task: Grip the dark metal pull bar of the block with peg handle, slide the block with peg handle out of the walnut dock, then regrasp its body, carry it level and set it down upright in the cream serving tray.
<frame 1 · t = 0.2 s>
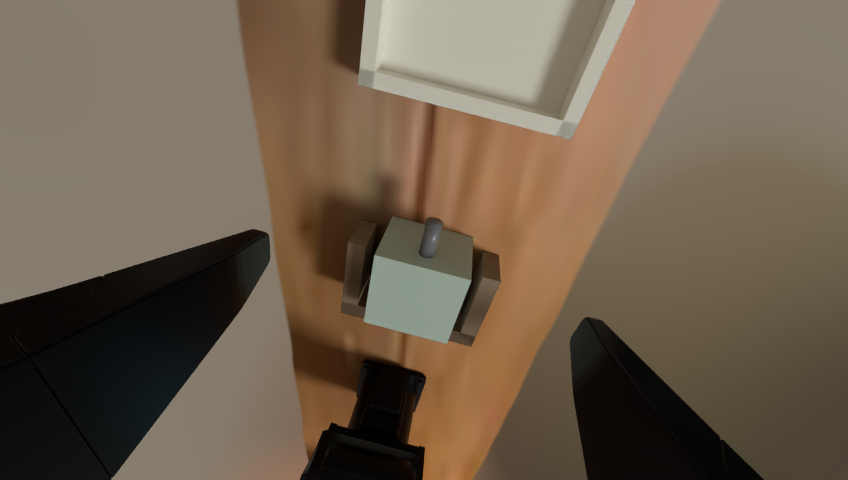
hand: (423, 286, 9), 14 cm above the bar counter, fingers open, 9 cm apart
dock: (424, 258, 26), on the bar counter
block with peg handle: (424, 257, 26), on the bar counter
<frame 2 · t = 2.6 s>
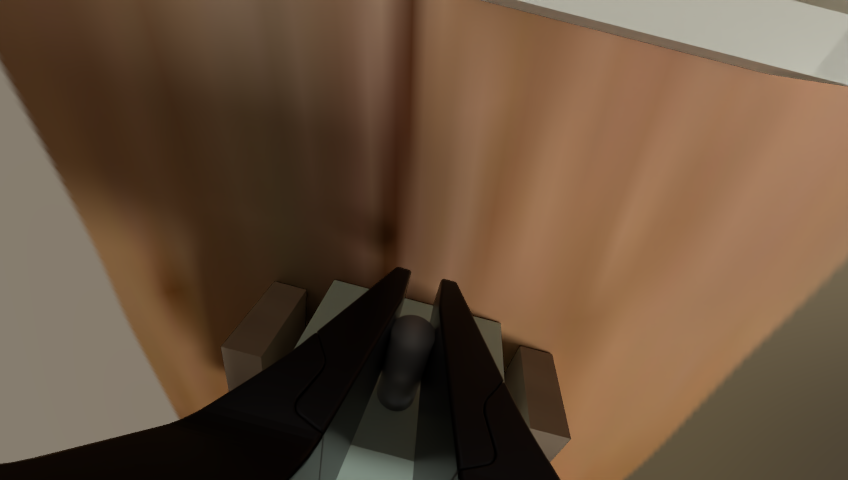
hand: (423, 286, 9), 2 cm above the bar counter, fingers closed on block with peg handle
dock: (403, 352, 13), on the bar counter
block with peg handle: (402, 355, 13), on the bar counter, touching gripper
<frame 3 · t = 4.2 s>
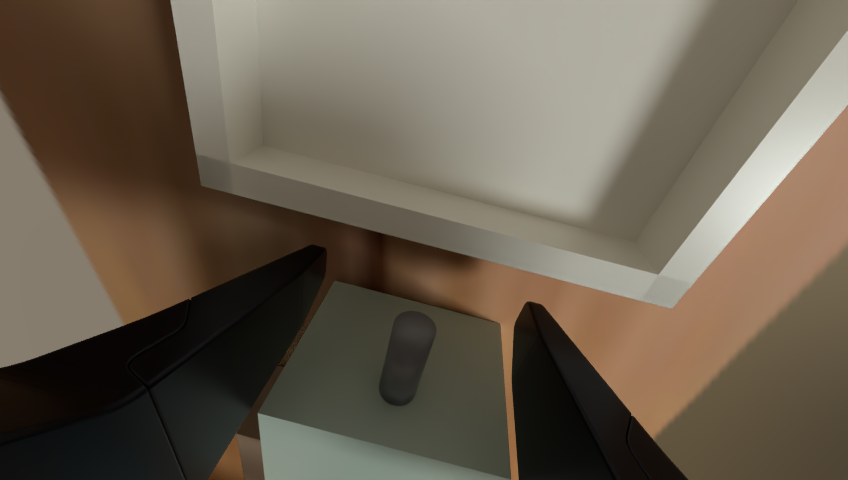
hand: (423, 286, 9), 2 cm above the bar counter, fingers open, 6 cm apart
dock: (384, 419, 16), on the bar counter
block with peg handle: (403, 353, 14), on the bar counter
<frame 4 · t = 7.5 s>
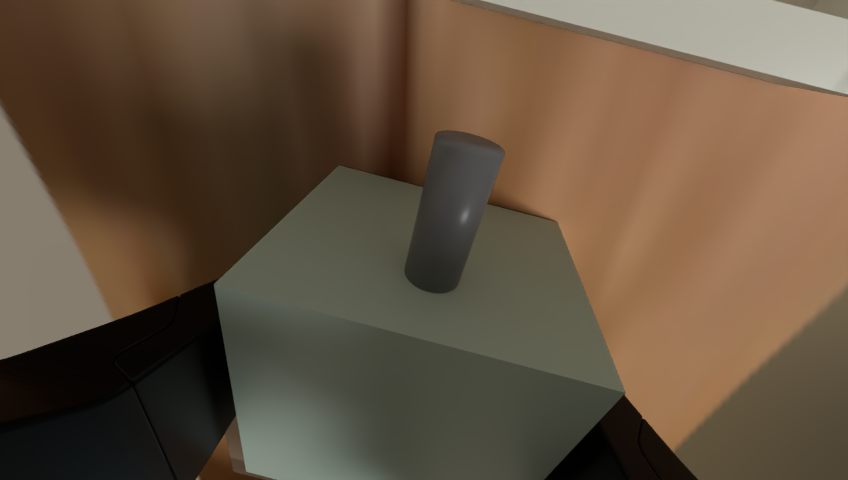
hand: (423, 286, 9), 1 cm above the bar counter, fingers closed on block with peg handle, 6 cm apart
dock: (400, 365, 13), on the bar counter
block with peg handle: (424, 278, 11), on the bar counter, touching gripper
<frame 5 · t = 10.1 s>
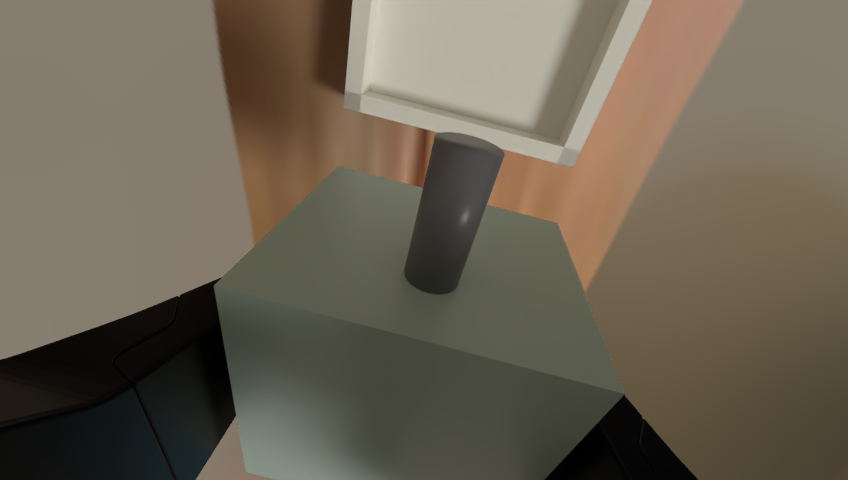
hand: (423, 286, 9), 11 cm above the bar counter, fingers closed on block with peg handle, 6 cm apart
block with peg handle: (424, 279, 11), point 10 cm above the bar counter, touching gripper
when the fingers open (3 cm above the bar counter, at t = 12.6 s): block with peg handle drops 1 cm, resting on tray.
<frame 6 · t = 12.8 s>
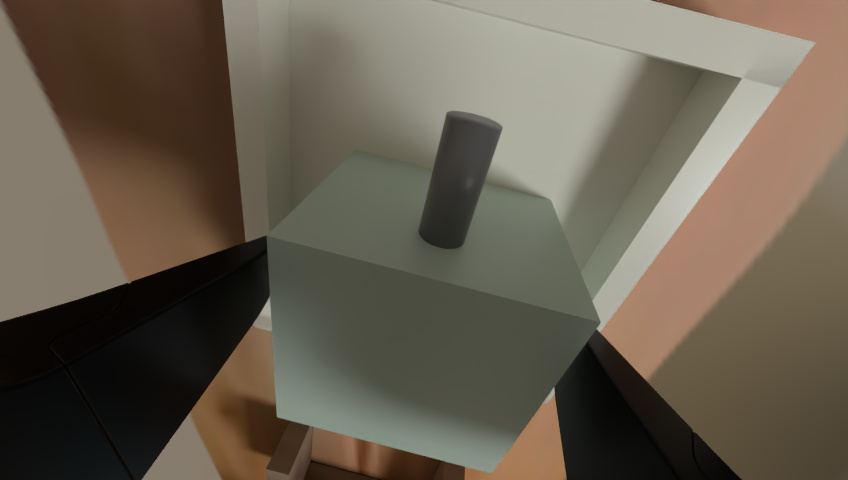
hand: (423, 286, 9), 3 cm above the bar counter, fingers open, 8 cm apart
dock: (374, 451, 21), on the bar counter
block with peg handle: (431, 254, 12), point 1 cm above the bar counter, touching tray
tray: (443, 203, 11), on the bar counter
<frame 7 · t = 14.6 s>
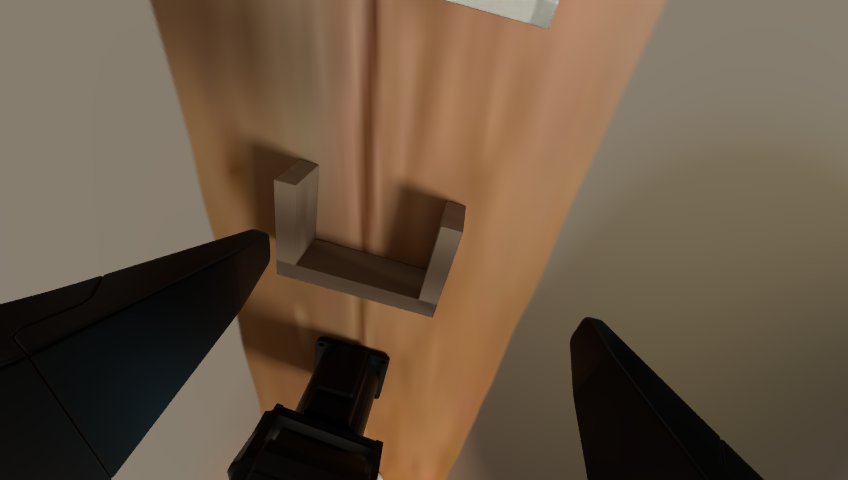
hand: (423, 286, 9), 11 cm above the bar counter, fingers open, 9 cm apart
dock: (377, 210, 21), on the bar counter
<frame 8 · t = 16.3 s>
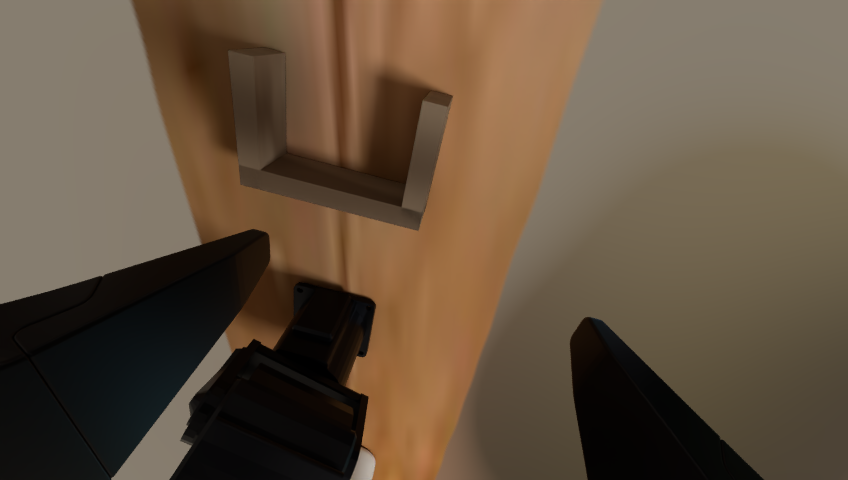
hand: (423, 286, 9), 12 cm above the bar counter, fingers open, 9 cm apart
dock: (354, 110, 19), on the bar counter
drinking glass: (355, 452, 40), on the bar counter
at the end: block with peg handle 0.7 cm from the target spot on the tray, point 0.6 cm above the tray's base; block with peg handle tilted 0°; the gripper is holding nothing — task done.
